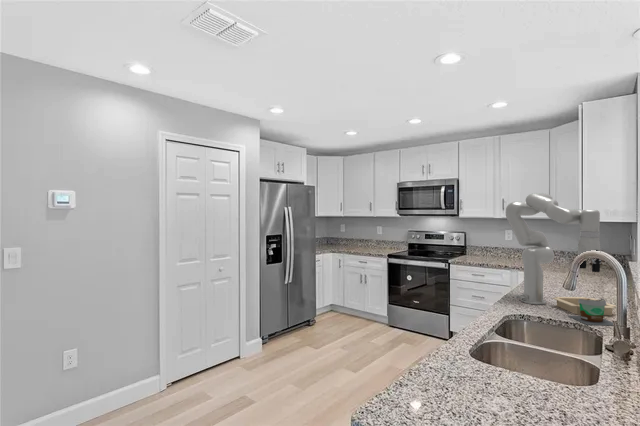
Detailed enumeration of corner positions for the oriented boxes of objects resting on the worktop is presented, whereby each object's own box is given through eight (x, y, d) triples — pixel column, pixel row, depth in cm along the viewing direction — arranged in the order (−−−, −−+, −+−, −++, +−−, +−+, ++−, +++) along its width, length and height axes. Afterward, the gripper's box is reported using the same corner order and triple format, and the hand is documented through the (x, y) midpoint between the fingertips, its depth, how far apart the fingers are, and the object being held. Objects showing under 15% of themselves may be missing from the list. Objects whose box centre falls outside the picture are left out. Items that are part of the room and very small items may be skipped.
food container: (588, 323, 163) (588, 301, 163) (578, 319, 169) (577, 298, 169) (613, 322, 163) (613, 301, 164) (602, 318, 170) (602, 298, 170)
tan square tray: (574, 315, 176) (574, 306, 176) (549, 304, 198) (549, 296, 198) (621, 316, 174) (621, 307, 174) (590, 305, 196) (590, 297, 196)
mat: (586, 325, 161) (586, 324, 161) (567, 316, 175) (567, 315, 175) (619, 325, 160) (619, 325, 160) (597, 316, 174) (597, 316, 174)
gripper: (570, 233, 181) (569, 267, 181) (593, 236, 164) (592, 273, 164) (586, 233, 180) (585, 267, 181) (610, 236, 163) (610, 273, 164)
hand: (588, 270), depth 172 cm, fingers open, 9 cm apart
